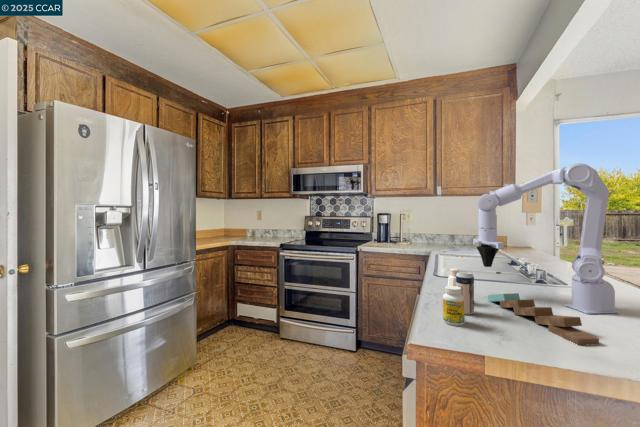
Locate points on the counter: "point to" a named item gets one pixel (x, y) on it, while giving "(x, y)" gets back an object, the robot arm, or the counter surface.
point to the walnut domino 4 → (573, 335)
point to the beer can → (466, 290)
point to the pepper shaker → (452, 277)
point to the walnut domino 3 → (558, 320)
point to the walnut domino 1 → (517, 303)
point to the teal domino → (504, 297)
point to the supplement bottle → (453, 306)
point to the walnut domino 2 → (533, 311)
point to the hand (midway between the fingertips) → (487, 266)
